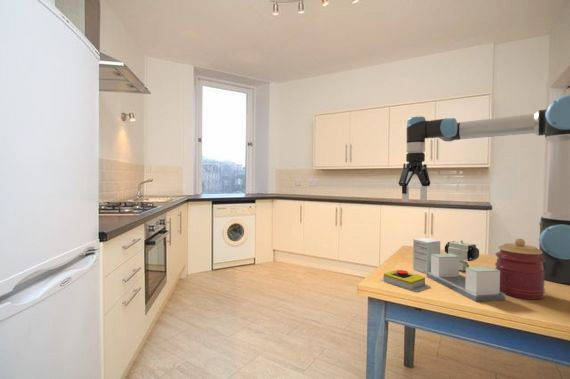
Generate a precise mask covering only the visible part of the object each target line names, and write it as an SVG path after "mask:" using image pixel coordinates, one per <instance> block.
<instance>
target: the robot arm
mask: <svg viewBox="0 0 570 379" xmlns="http://www.w3.org/2000/svg"><path fill="white" fill-rule="evenodd" d="M529 134H535V135H536V136H544V139H545V140H546V141H548V142H549V143H550V144H549V145H550V148H549V150H550V151H549V162H548V163H549V165H548V166H549V167H548V184H547V185H548V186H547V205H546V206H547V207H546V212H545V213H543V214H542V215H541V216H540V219H539V222H538V223H539V238H538V241H539V244H538V246H539V247H538V249H539V250H541V251H542V252H543V253H542V254H541V256H542V257H543V258H545V259H546V261H545V262H544V263H543V266H544V269H545V280H546V281H549V282H554V283H560V284H564V285H565V284H566V285H570V94H565V95H562V96H560V97H558V98H556V99H555V100H554V101H552V102H551V103H550V104H549V105H548V107H547V108H545V109H539V110H537V111H535V112H534V113H529V114H521V115H511V116H503V117H495V118H486V119H485V118H484V119H477V120H476V119H475V120H470V121H469V120H468V121H460V122H457V119H456V118H454V117H450V118H449V117H448V118H447V117H445V118H440V119H432V120H426V117H424V116H421V115H419V116H411V117H409V118H408V119H407V121H406V159H405V161H406V163H403V165H402V171H401V174H400V177H399V181H398V185H399V186H400V187H401V202H409V200H410V186H409V183H410V182H411V181H412V178H413V176H414V175H416V176H417V178H418V180H419V183H420V192H419V193H420V201H423V202H424V201H425V202H427V200H428V187H430V185H431V180H430V175H429V173H428V169H427V168H428V166H427V164H426V163H424V164H423V162H425V161H426V156H425V152H426V139H434V138H435V139H436V138H438V139H440V140H442V141H443V142H454V141H459V140H467V139H468V140H469V139H482V138H493V137H494V138H495V137H496V138H497V137H506V136H507V137H508V136H517V135H529Z"/></svg>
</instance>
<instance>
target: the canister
mask: <svg viewBox="0 0 570 379" xmlns="http://www.w3.org/2000/svg"><path fill="white" fill-rule="evenodd" d="M498 249H499V251H497V252H495V253H494V254H495V256H496V257H497V258H496V262H495V263H494V265H495V269H497V270H500V292H502V293H505V295H506V296H510V297H515V298H520V299H526V300H541V299H544V296H545V294H546V293H545V291H546V288H545V269H544V266H543V263H544V262H545V261H546V259H545V258H543V257H542V256H541V254H542V253H543V252H542V251H541V250H539V248H538V247H537V246H534V245H531V244H526V242H525V240H524V239H522V238H517V239H515V241H514V243H512V242H507V243H503V244H502V245H499V246H498Z"/></svg>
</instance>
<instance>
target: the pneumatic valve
mask: <svg viewBox="0 0 570 379" xmlns="http://www.w3.org/2000/svg"><path fill="white" fill-rule="evenodd" d="M444 252H445V254H453V255H456V256H459V271H462V272H464V271H465V272H466V267H470V264H469V262H473V261H476V260H477V259H479V256H480V249H479V248H477V244H473V243H469V242H464V240H461V239H460V241H456V240H453V241H448V242H446V243H445V246H444Z"/></svg>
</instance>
